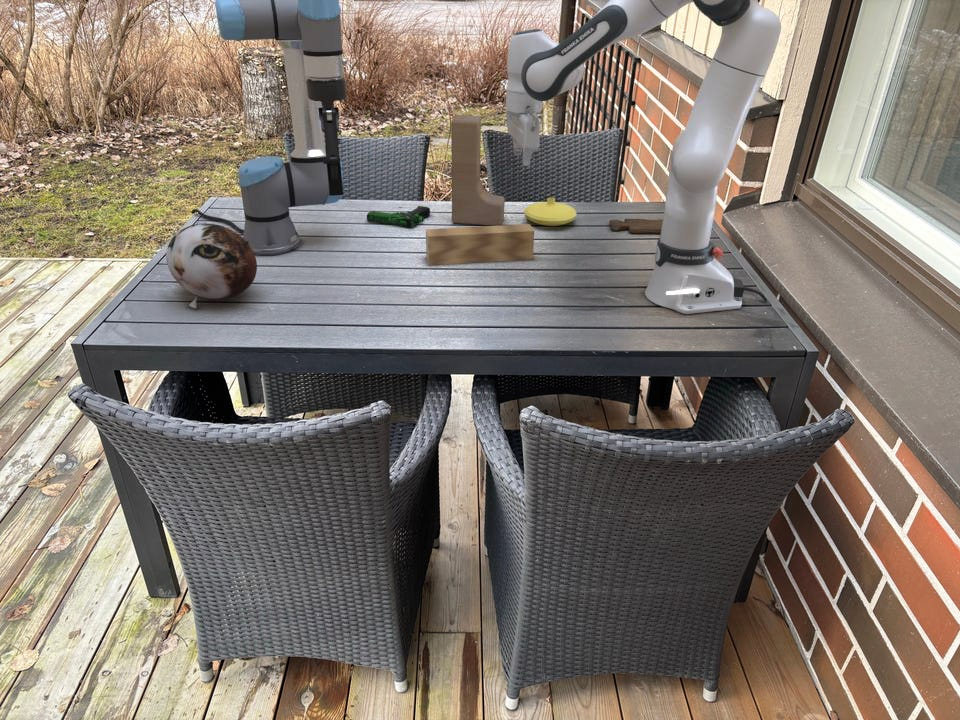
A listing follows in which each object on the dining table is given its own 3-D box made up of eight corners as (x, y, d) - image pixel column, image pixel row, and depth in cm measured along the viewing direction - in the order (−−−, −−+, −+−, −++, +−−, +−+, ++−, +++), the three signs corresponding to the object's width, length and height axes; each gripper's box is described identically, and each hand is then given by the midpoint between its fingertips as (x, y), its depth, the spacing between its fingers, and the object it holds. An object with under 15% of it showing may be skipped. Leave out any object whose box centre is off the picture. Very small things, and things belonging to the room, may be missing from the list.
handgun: (435, 206, 218) (413, 220, 206) (436, 216, 220) (413, 230, 208) (389, 200, 224) (364, 213, 212) (389, 209, 225) (365, 223, 213)
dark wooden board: (700, 236, 208) (693, 224, 217) (701, 230, 207) (694, 219, 216) (612, 233, 208) (607, 221, 217) (613, 227, 207) (608, 216, 216)
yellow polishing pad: (541, 209, 225) (542, 187, 222) (585, 220, 218) (587, 197, 214) (513, 223, 214) (514, 200, 211) (559, 234, 206) (560, 211, 203)
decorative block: (501, 226, 212) (504, 122, 196) (451, 223, 213) (450, 120, 198) (504, 218, 218) (507, 116, 203) (455, 215, 220) (455, 114, 204)
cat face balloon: (130, 285, 161) (164, 203, 163) (192, 308, 177) (221, 233, 178) (195, 307, 151) (229, 220, 152) (254, 330, 166) (285, 250, 168)
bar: (428, 265, 187) (428, 236, 182) (426, 257, 191) (425, 229, 187) (532, 259, 191) (534, 231, 187) (528, 251, 196) (529, 224, 191)
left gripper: (348, 89, 129) (356, 202, 140) (342, 67, 150) (350, 167, 161) (305, 90, 128) (317, 204, 139) (305, 67, 149) (316, 169, 160)
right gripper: (547, 111, 164) (544, 171, 171) (527, 94, 181) (524, 149, 189) (521, 112, 163) (518, 172, 170) (503, 94, 181) (501, 150, 188)
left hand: (335, 185), depth 150 cm, fingers open, 13 cm apart
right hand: (521, 160), depth 180 cm, fingers open, 8 cm apart
